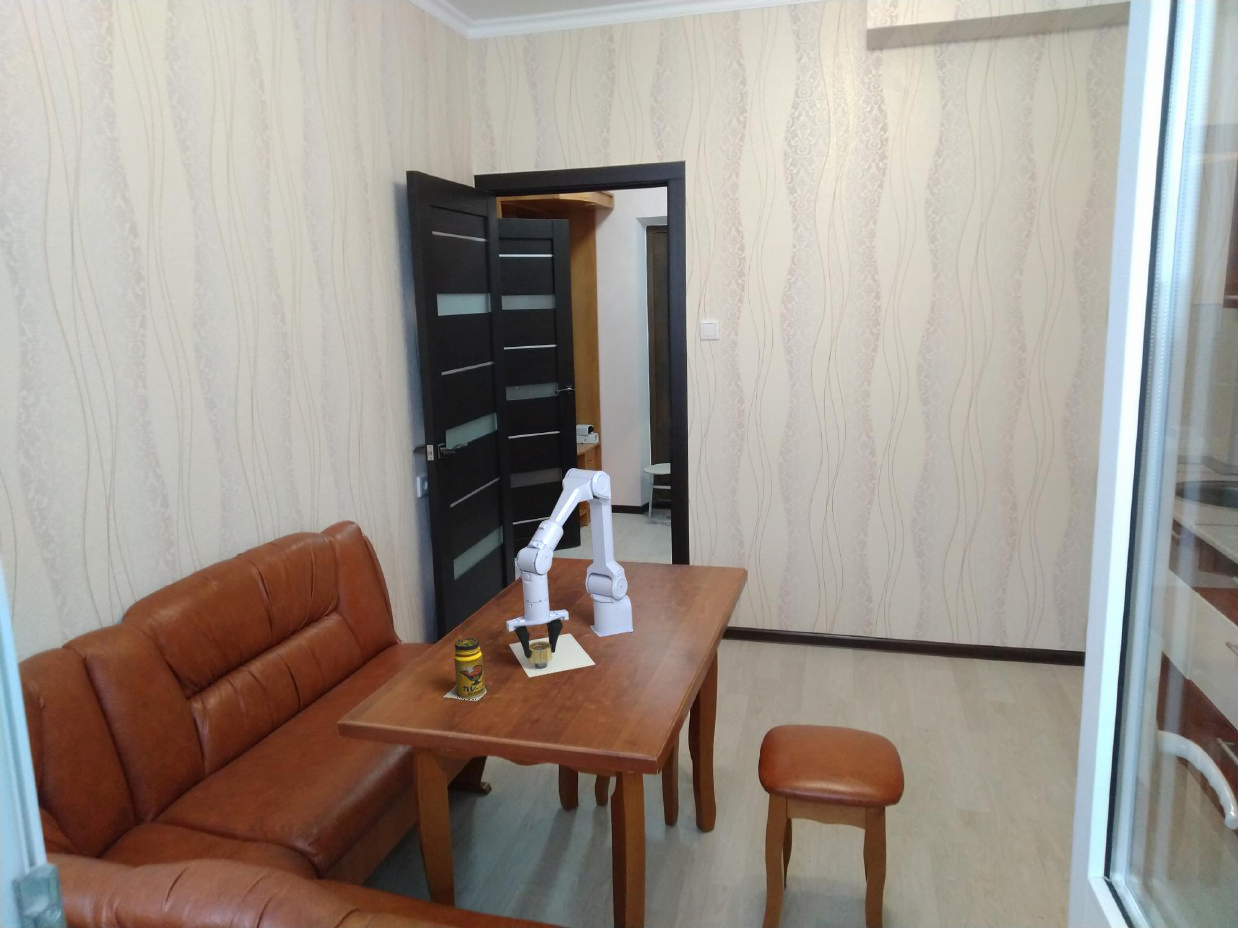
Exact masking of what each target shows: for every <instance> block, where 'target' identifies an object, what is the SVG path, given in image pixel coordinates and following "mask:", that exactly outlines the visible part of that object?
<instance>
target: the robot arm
mask: <svg viewBox="0 0 1238 928" xmlns="http://www.w3.org/2000/svg"><path fill="white" fill-rule="evenodd" d="M561 484H562V491H561V494H560V496H559V498H558V500H557V502H556V504H555V506H554V508H553V510H552V513H551V515H550V516H549V519H545V520H543V521H541V523H540V524H539V526H538V528H537V530H536V531H535V533H534V535H532V538H531V540H530V541H529V543H528V545H527V546H525V547H524V548H522V549H520V550H519V551H518V553H517V556H516V559H515V560H516V561H514V563H515V564H514V565H515V567H516V569H517V570H518V572H519V577H520V579H522V580H521V582H522V592H523V605H524V606H523V607H524V608H523V609H524V615H522V616H519V617H516V618H514V619H510V620H506V624H505V625H506V630H507V631H508V633H509V632H513V631H514V632H515V634H516V636H517V637H518V640H519V641H520V642H521V644H522V647H523V650H524V654H525V656H526V658H530V648H529V641H530V635H531V634H530V632H529V631H528V627H535V626H539V625H544V624H546V627H547V633H548V634H547V635H548V637H549V643H550V644H551V645H552V653H555V649H556V643H557V640H558V637H559V635H561V632H562V630H563V628H564V624H563V622H562V620H563V621H568V620H569V619H570V617H569V616H570V615H569V611H567V609H560V610H550V599H549V586H548V585H549V582H548V571H550V569H551V567H552V563H553V557H554V551H555V549H556V548H557V545H558V544H559V541H560V540H561V538H562V537H563V535H564V529H563V525H564V524H565V522H566V521H567V520H568V518H569V517H570V515H571V514H572V512H573V511H574V510H575V508H576V507H577V505H578V504H579V503H581V502H584V501H586V502H588V504H589V511H590V512H589V513H590V516H589V517H590V526H591V527H590V529H591V544H592V557H593V562H592V563H591V564H590V565H589V566H588V567H586V577H585V583H584V584H585V585H584V586H585V590H586V591H587V593H588V594H589V595H590V598H591V599H592V601H593V602H592V603H593V605H592V606H593V619H594V622H593V623H594V624H593V625H589V628H590V629H591V630H592V632H594V633H595V634H596V636H598V637H606V636H607V637H608V636H612V635H618V634H622V633H623V634H624V633H633V632H634V631H635V630H634V628H633V611H632V610H633V608H632V603H631V599H630V597H629V595H627V594H626V593H627V590H628V587H629V586H628V584H629V583H628V581H627V578H626V575H625V568H623V566H622V565H620V564H619V562H617V561H616V559H615V549H614V544H615V543H614V531H613V528H614V527H613V514H612V491H611V490H612V489H611V487H612V486H611V477H610V475H609V474H607V473H606V472H605V471H603V470H590V469H581V468H574V467H573V468H570V469H568V471H567V472H566V474H565V476H564V478H563V479H562V483H561Z"/></svg>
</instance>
